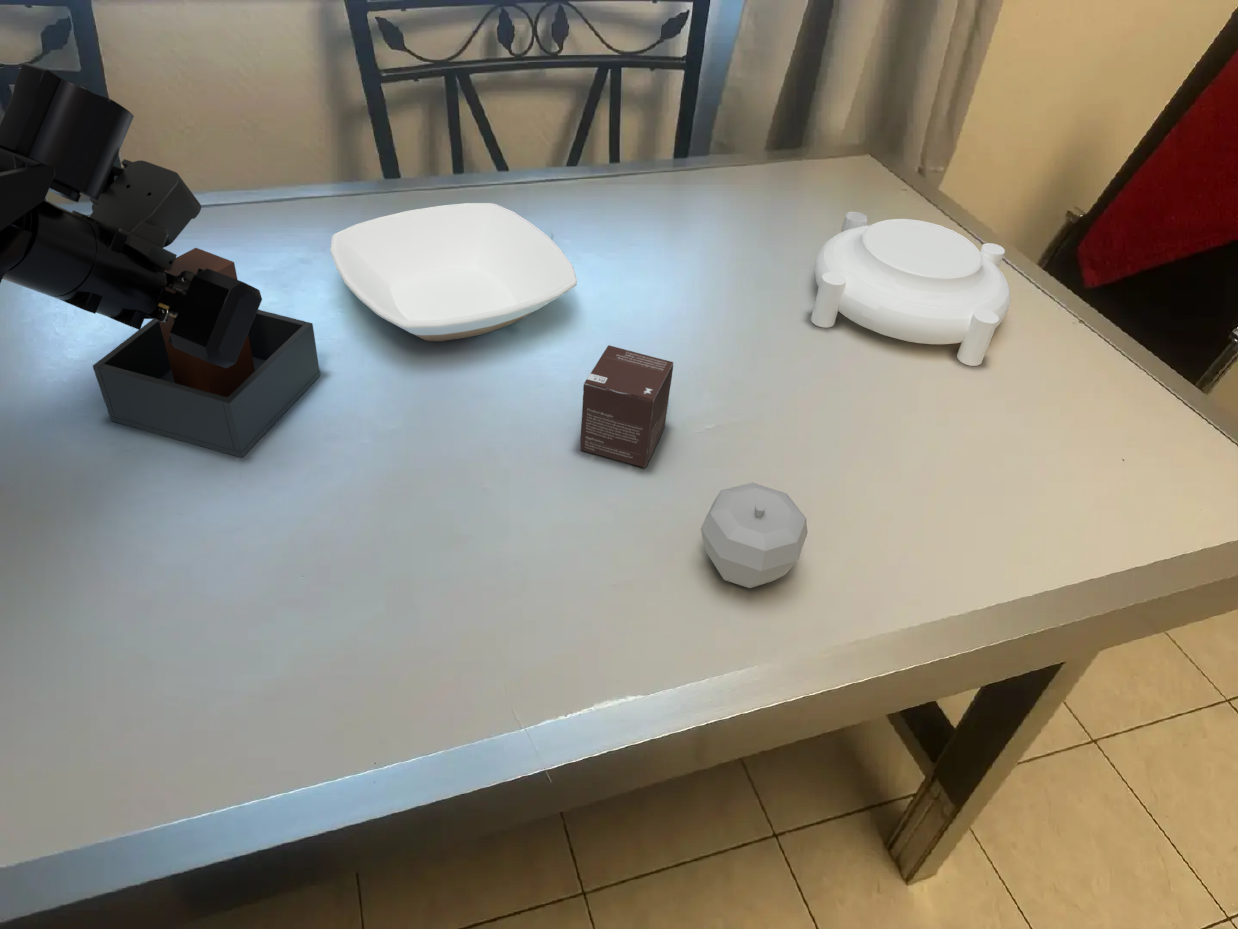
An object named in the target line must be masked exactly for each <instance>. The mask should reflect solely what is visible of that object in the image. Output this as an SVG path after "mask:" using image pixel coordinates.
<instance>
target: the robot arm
mask: <svg viewBox="0 0 1238 929" xmlns="http://www.w3.org/2000/svg"><path fill="white" fill-rule="evenodd" d="M13 86H14V87H13V93H12V95H11V98H10V101H9V103H8V105H7V108H6V110H5V112H4V115H3V116H2V119H1V122H0V284H1V283H2V281H3V280H4V281H7V282H10V283H12V284H15V285H18V286H21V287H24V288H26V289H29V290H32V291H34V292H38V293H40V294H43V295H46V296H48V297H52V298H54V299H57V300H60V301H61V302H64V303H67V304H69V305H71V306H74V307H75V308H79V309H81V310H82V311H86V312H89V313H91V314H94V315H95V314H99V315H101V316H104V317H107V318H109V319H111V320H114V321H116V322H119V323H121V324H123V325H125V326H127V327H131V328H133V329H136V330H140V329H141V328H142V327H143V324H144V321H145V320H152V319H155V320H158V321H160V322H163V323H166V322H167V321H168V319H169V317H170V314H172V315H173V316H175V318H174V320H173V326H172V328H171V331H170V338H169V340H168V343H171V344H173V346H174V348H176V349H179V350H181V351H183V352H186V353H188V354H190V355H193V356H195V357H197V358H200V359H202V360H205V361H207V362H209V363H212V364H215V365H218V366H221V367H224V368H228V367H230V366H232V365H234V364H235V363H236V361H237V358H238V356H239V354H240V351H241V349H242V346H243V344H244V342H245V339H246V337H247V334H248V332H249V330H250V327H251V325H252V323H253V320H254V318H255V315H256V313H257V311H258V310H259V308H260V306H261V303H262V301H263V297H262V295H261V291H260V289H258V288H256V287H255V286H252V285H250V284H249V283H246V282H245V281H241V280H239V279H238V278H237V279H238V280H237V279H234V278H231V277H229V276H226V275H224V274H221V273H219V272H216V271H213V270H211V269H208V268H206V269H205V270H202V269H200V268H199V269H198V271H197V273H196V274H195V273H193V272H190V271H187V270H185V271H182V272H181V273H180V274H178V275H177V276H175V275H172V274H170V273H167V272H165V270H167V271H170V270H171V268H172V266H173V264H174V261H175V259H176V258H177V257H178V255H177V254H176V253H174V252H171V251H170V250H168V249H166V247H168V246H169V247H170V245H171V244H172V243H174V241H176V239H177V238H178V237H179V236H180V235H181V233H182V232H183V230H184V229H185V228H186V227H187V225H188V224H189V223H190V222H191V221H192V220H193V219H196V218H197V217H198V216H199V214H200V213H201V211H202V205H201V202H200V201H199V200H198V199H197V197H196V196H195V195H194V193H193V192H192V191H191V189H190V188H189V187H188V186H187V184H186V183H185V181H184V180H183V178H181V176H180V174H178V172H176V171H174V170H172V169H168V168H165V167H163V166H160V165H157V164H155V163H152V162H148V161H145V160H142V159H141V160H135V161H132V160H128V159H124V158H123V160H122V161H121V165H122V166H123V167H119V166H117V165H115V162H116V160H117V158H118V155H119V152H120V150H121V148H122V145H123V143H124V141H125V139H126V137H127V134H128V131H129V129H130V127H131V124H132V122H133V120H134V117H135V116H134V114H133V113H132V112H130V110H128V109H127V108H125V107H124V106H122V105H121V104H120V103H118V102H117V101H115V100H113V99H111V98H108V97H106V96H103V95H100V94H97V93H94V92H92V91H90V90H88V89H86V88H84V87H82V86H80V85H78V84H75V83H74V82H71V81H69V80H66V79H64V78H62V77H60V76H59V75H57V74H56V73H54V72H52V71H51V70H49V69H47V68H43V67H40V66H38V65H35V64H31V63H29V62H25V63H22V64H21V66H20V69H19V71H18V74H17V76H16V78H15V81H14V85H13ZM49 192H50V193H53V194H54V195H57V196H59V197H61V198H64V199H67V200H69V201H71V202H75V203H79V201H80V199H81V197H82V195H84V196H86V197H88V198H89V201H90V202H91V203H92V205H91V210H92V212H91V213H90V215H89V216H88V215H87V214H84V213H82V212H79V211H76V210H72V211H70V210H67V209H65V208H64V207H61V206H59V205H57V204H55V203H54V202H51V201H49V200H47V199H46V196H47V195H48V193H49ZM81 194H82V195H81ZM166 287H168V288H170V289H173V290H175V291H176V292H175V294H174V293H171V292H169V291H166V290H165V288H166ZM177 288H180V289H182V290H180V289H177ZM159 303H162V304H164V305H166V306H169V308H168V310H167V309H165V308H162V307H160V306H158V305H159Z"/></svg>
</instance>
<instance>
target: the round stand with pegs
mask: <svg viewBox="0 0 1238 929" xmlns="http://www.w3.org/2000/svg"><path fill="white" fill-rule="evenodd" d="M844 216H845V217H844V220H843V223H842V227H841V231H840V232H839V233H837V234H835V235H834V236H833V237H831V238H829V239H828V240H827V241H826V242H825V243H824V244H823V245H822V246H821V248H820V250H819V251H818V253H817V256H816V259H815V263H814V276H815V281H816V285H817V287H818V290H817V293H816V297H815V300H814V301H815V302H814V305H813V309H812V313H811V316H810V322H811V323H812V324H813V325H815V326H817V327H820V328H823V329H827V328H831V327H833V326H835V323H836V320H837V316H838V312H839V313H840V314H841V315H843V316H844V317H845V318H847V319H849V320H850V321H852V322H853V323H855V324H857V325H859V326H861V327H863V328H865V329H868V330H870V331H872V332H875V333H878V334H879V335H883V336H885V337H889V338H894V339H897V340H901V341H905V342H910V343H916V344H923V345H924V344H925V345H951V344H959V343H960V346H959V348H958V352H957V354H956V358H957V360H958V361H959V362H960V363H961V364H964V365H967V366H970V367H976V366H980V365H981V364H982V362H983V360H984V358H985V356H986V353H987V350H988V349H989V346H990V344H991V341H992V338H993V335H994V334H995V331H996V330H997V329H996V328H997V327H998V326H999V325H1000V324H1001V323H1002V322H1003V321H1004V319H1005V318H1006V316H1007V314H1008V312H1009V309H1010V306H1011V301H1012V300H1011V299H1012V298H1011V288H1010V286H1009V283H1008V280H1007V278H1006V277H1005V275H1004V273H1003V272H1002V270H1001V269H1000V266H1001V263H1002V262H1003V258H1004V257H1005V256H1004V255H1005V253H1006V250H1005V248H1004V247H1002V246H1001V245H1000V244H996V243H992V242H986V243H983V244H982V245H981V247H980V249H979V248H978V247H977V246H976V245H975V244H974V243H973V242H972V241H971V240H969V239H968V238H967V237H965V236H963V235H962V234H960V233H958V231H957V232H956V231H955V230H953V229H950V228H948V227H945V226H943V225H939V224H937V223H933V222H929V221H924V220H920V219H919V220H917V219H909V218H894V219H893V218H892V219H886V220H885V219H884V220H881V221H880V220H879V221H877V222H874V223H872V224H868V219H869V217H868V216H867V215H866V214H864V213H863V212H861V211H847V212H846V213H845V215H844Z"/></svg>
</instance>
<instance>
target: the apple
mask: <svg viewBox="0 0 1238 929" xmlns="http://www.w3.org/2000/svg"><path fill="white" fill-rule="evenodd" d="M700 533H701V538H702V543H703V548H704V550H705V552H706V553H707V555H708V557H709V558H710V560H711V562H712V563H713V565H714V566H715V568H716V570H717V572H718V573H719V575H720V576H721V578H722V579H723V580H724V581H726V582H729V583H733V584H736V585H738V586H741V587H744V588H747V589H751V588H755V587H759V586H762V585H765V584H768V583H771V582H775V581H776V580H778V579H780V578H782V577H783V576H786V574H787V573H788V572H790V570H791V569H792V568H793V566H794V565H796V564H797V562H798V561H799V559H800V556H801V554H802V551H803V547H804V545H805V542H806V539H807V535H808V522H807V517H806V516H805V514H804V513H803V512H802V511H801V510H800V508H799V507H798V505H797V504H796V503H795V502H794V500H793V499H792V498H791V497H790V496H789V494H788V493H787V492H784V491H781V490H778V489H775V488H771V487H768V486H765V485H761V484H759V483H755V482H749V483H745V484H740V485H737V486H733V487H729V488H725V489H721V490H720V491H719V492H718V494H717V496H716V497H715V499H714V500H713V502H712V504H711V506H710V508H709V510H708V512H707V514H706V516H705V518H704V520H703V522H702V524H701V527H700Z"/></svg>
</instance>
